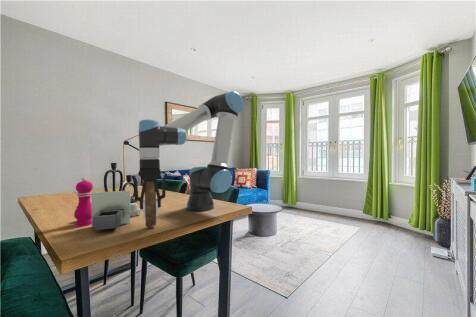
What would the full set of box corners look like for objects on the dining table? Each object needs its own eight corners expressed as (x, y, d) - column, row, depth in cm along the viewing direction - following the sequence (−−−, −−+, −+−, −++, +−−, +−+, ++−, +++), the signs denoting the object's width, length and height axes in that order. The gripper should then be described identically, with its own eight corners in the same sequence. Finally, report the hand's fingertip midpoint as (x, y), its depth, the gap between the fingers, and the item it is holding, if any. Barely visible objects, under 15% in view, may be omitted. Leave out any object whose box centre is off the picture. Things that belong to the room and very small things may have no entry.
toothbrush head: (78, 212, 96) (138, 199, 107) (81, 226, 97) (140, 212, 108) (76, 214, 92) (139, 201, 103) (78, 229, 92) (141, 214, 103)
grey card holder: (130, 222, 93) (130, 190, 93) (127, 231, 82) (127, 195, 82) (92, 226, 88) (92, 192, 88) (84, 236, 77) (83, 197, 77)
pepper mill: (71, 227, 86) (71, 178, 86) (76, 222, 93) (76, 177, 93) (92, 225, 89) (92, 177, 89) (96, 220, 96) (96, 176, 95)
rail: (156, 223, 89) (155, 180, 88) (156, 226, 85) (155, 181, 84) (145, 224, 87) (144, 180, 87) (145, 227, 83) (144, 181, 83)
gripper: (171, 158, 92) (172, 211, 93) (127, 159, 86) (128, 216, 86) (172, 158, 85) (173, 216, 86) (124, 159, 79) (126, 221, 79)
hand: (150, 216), depth 86 cm, fingers closed on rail, 4 cm apart
